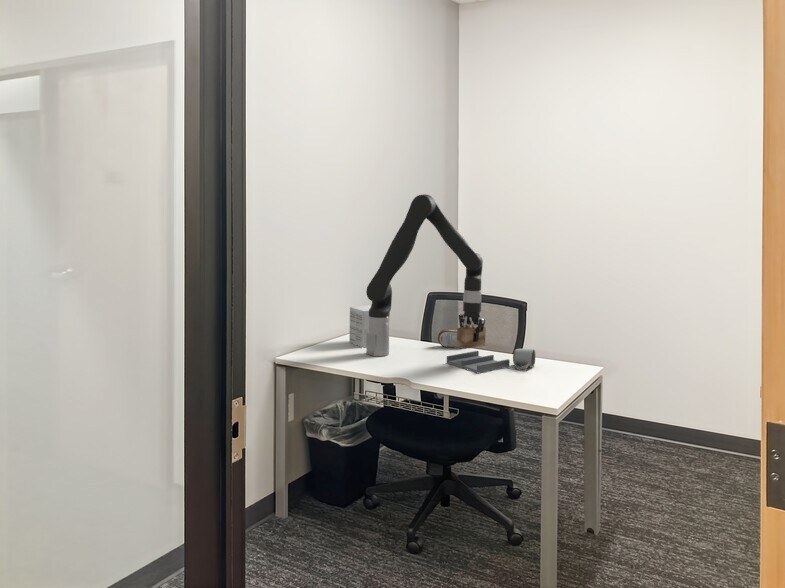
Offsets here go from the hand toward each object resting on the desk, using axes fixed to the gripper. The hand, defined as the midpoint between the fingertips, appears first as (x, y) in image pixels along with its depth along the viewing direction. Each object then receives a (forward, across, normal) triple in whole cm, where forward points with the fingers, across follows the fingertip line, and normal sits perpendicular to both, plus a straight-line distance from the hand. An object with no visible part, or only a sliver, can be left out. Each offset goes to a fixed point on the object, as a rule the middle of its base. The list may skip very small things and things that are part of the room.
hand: (471, 340), depth 260 cm
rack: (+10, +4, 0) cm, 11 cm away
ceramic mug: (+10, +18, +14) cm, 25 cm away
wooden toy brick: (+2, 0, 0) cm, 2 cm away
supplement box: (+10, -54, -16) cm, 57 cm away
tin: (+10, -26, +14) cm, 31 cm away
